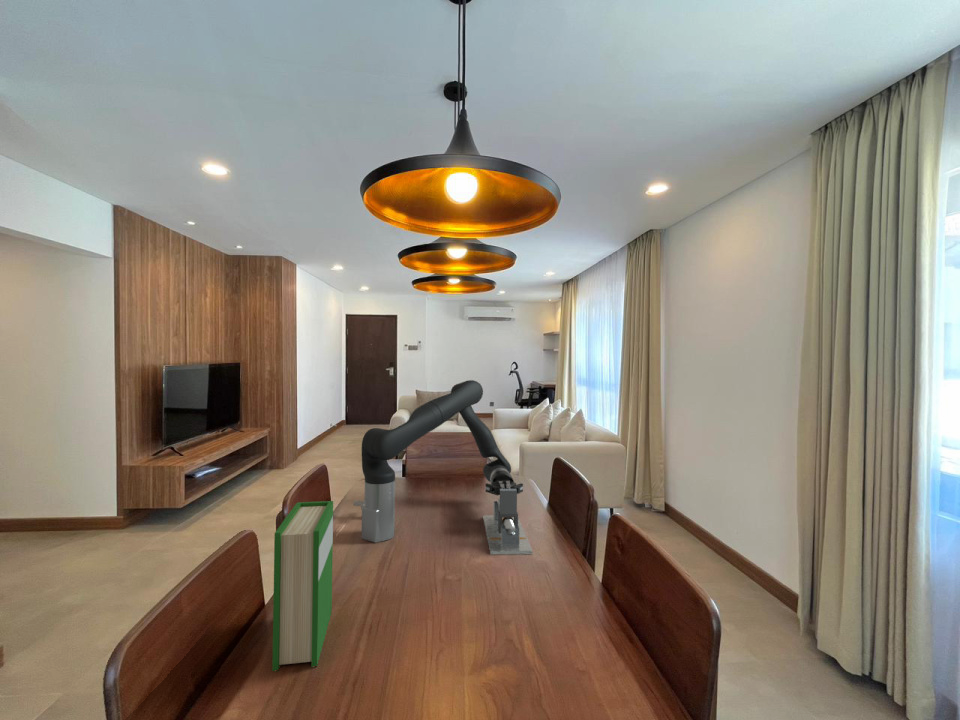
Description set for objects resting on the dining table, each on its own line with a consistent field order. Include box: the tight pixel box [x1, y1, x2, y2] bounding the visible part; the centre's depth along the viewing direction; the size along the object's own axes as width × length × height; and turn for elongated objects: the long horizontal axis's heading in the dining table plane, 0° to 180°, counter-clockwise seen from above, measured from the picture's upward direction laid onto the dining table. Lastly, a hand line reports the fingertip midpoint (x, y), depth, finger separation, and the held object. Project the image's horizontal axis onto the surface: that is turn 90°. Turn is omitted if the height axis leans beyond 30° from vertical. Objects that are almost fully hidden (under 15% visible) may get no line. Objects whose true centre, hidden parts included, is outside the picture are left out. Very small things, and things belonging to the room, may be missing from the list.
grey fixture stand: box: [482, 498, 533, 556], centre depth 143 cm, size 30×12×8 cm, turn 3°
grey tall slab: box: [498, 489, 519, 533], centre depth 137 cm, size 2×6×13 cm, turn 93°
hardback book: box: [271, 500, 334, 672], centre depth 88 cm, size 18×7×24 cm, turn 10°
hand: (507, 495), depth 139 cm, fingers closed
